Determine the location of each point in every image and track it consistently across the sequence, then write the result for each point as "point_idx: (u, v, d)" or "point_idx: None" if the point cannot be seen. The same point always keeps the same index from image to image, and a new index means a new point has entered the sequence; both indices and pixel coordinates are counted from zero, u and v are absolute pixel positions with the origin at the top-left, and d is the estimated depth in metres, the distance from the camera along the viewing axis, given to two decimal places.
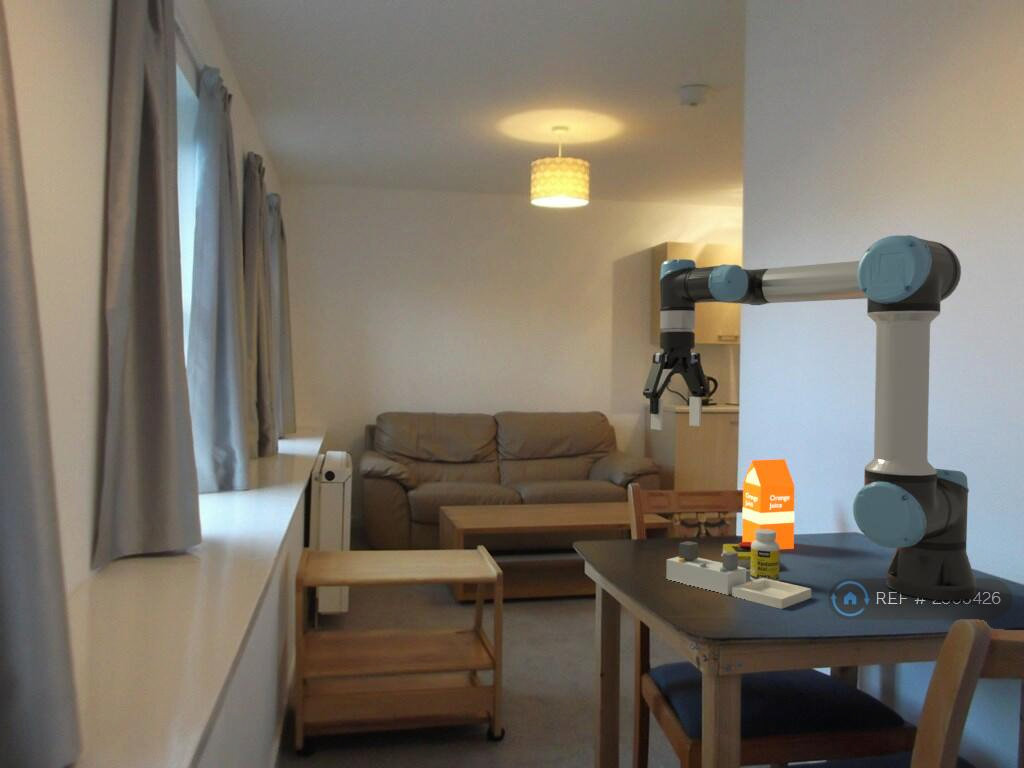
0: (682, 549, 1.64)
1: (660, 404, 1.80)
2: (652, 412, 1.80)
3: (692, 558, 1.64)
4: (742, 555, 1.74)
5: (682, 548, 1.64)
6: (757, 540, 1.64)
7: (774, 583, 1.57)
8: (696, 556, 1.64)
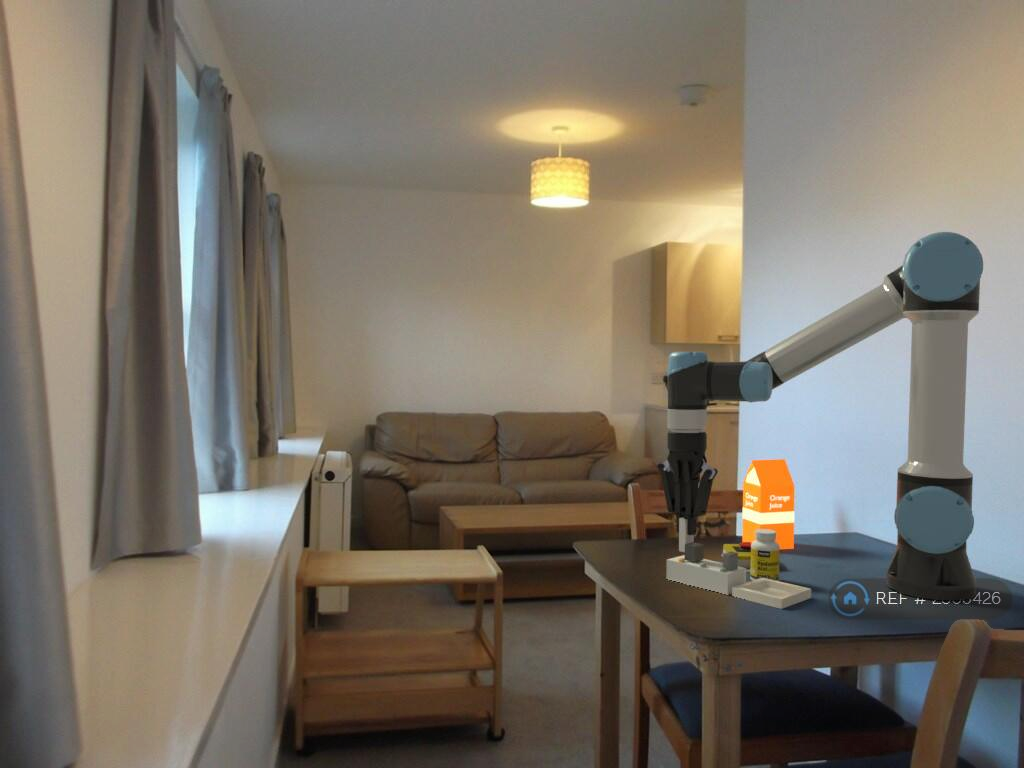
0: (687, 550, 1.63)
1: None
2: None
3: (698, 559, 1.63)
4: (742, 555, 1.74)
5: (687, 549, 1.63)
6: (757, 540, 1.64)
7: (774, 583, 1.57)
8: (702, 557, 1.63)
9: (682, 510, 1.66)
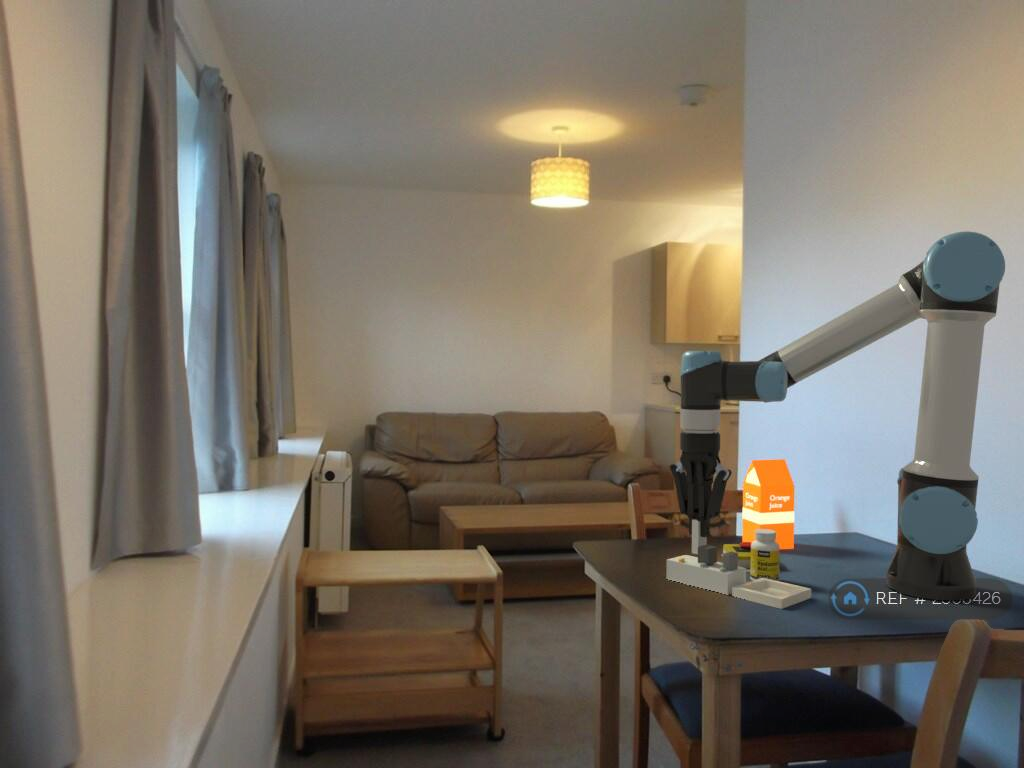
0: (700, 553, 1.61)
1: None
2: None
3: (711, 562, 1.60)
4: (742, 555, 1.74)
5: (700, 552, 1.61)
6: (757, 540, 1.64)
7: (774, 583, 1.57)
8: (715, 560, 1.61)
9: (695, 512, 1.64)
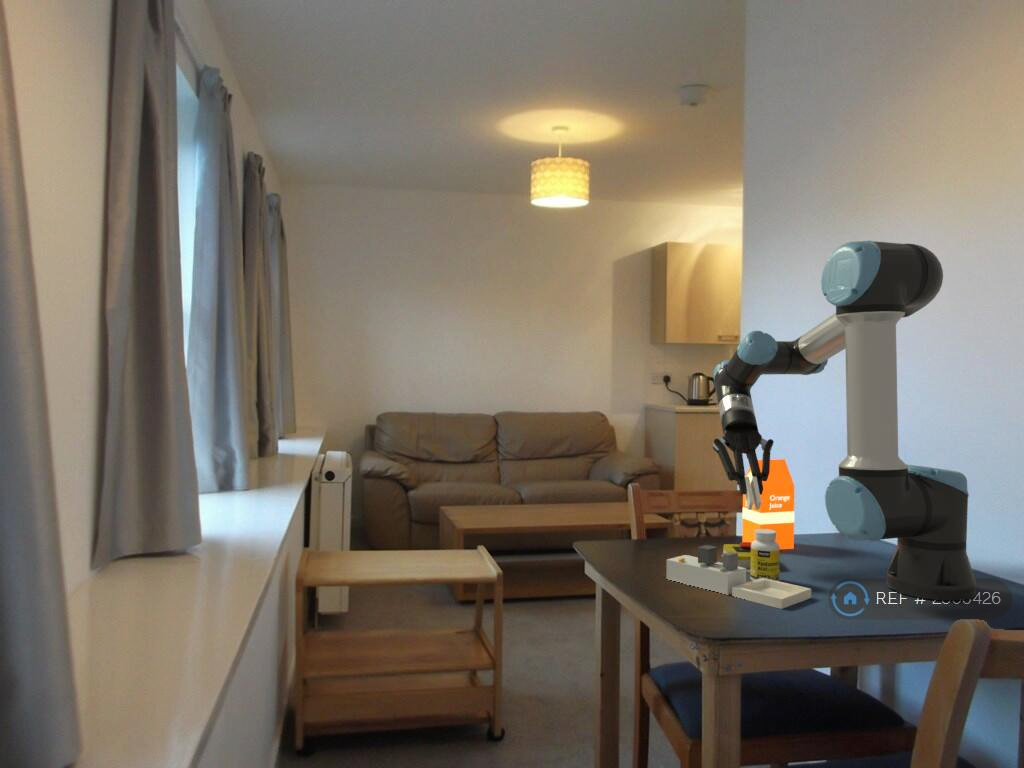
0: (700, 553, 1.61)
1: None
2: (762, 491, 1.75)
3: (711, 562, 1.60)
4: (743, 555, 1.74)
5: (700, 552, 1.61)
6: (757, 540, 1.64)
7: (774, 583, 1.57)
8: (715, 560, 1.61)
9: None
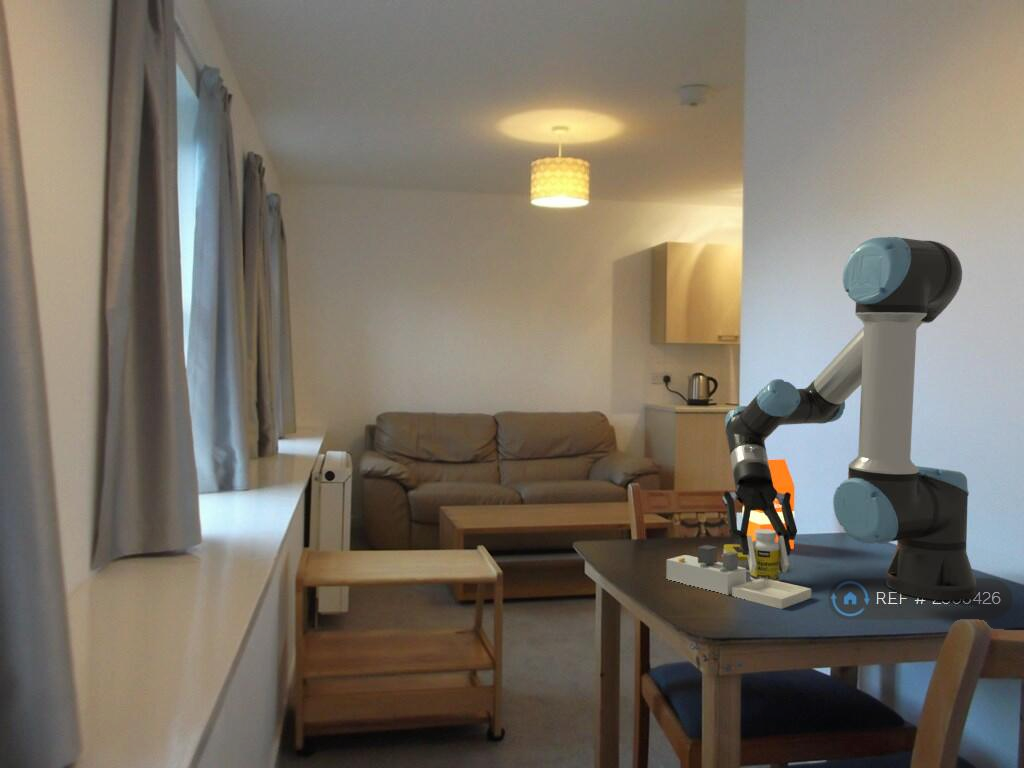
0: (700, 553, 1.61)
1: None
2: None
3: (711, 562, 1.60)
4: (743, 556, 1.74)
5: (700, 552, 1.61)
6: (757, 540, 1.64)
7: (774, 583, 1.57)
8: (715, 560, 1.61)
9: None
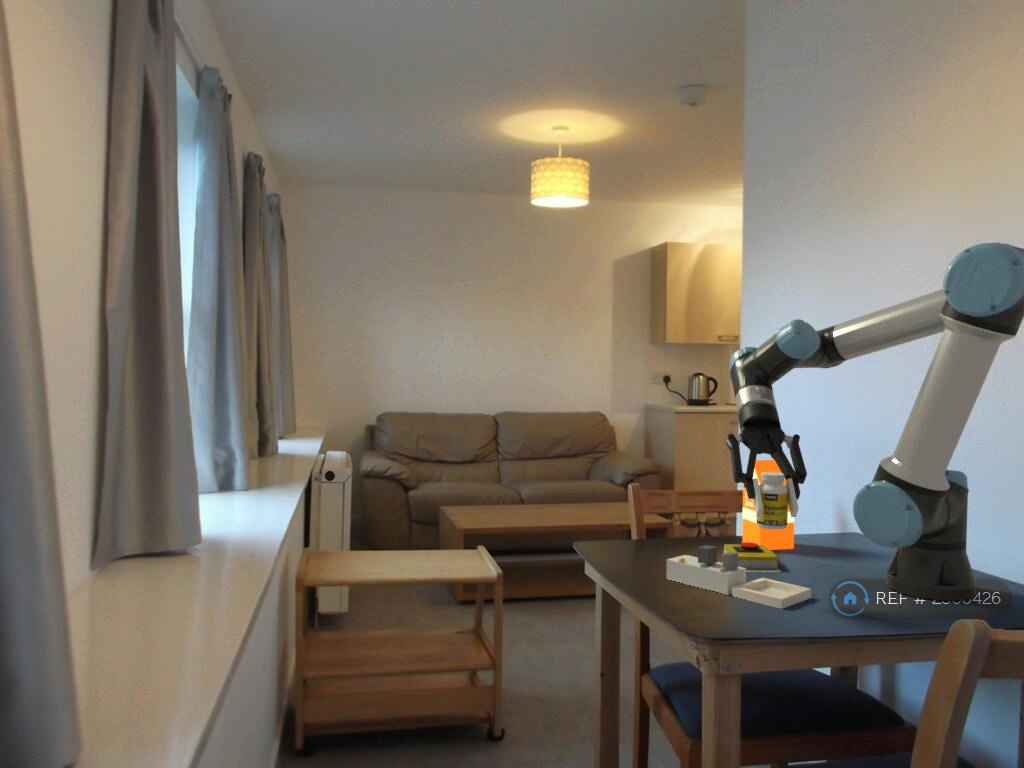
0: (700, 553, 1.61)
1: None
2: (799, 495, 1.52)
3: (711, 562, 1.60)
4: (743, 556, 1.74)
5: (700, 552, 1.61)
6: (764, 483, 1.52)
7: (774, 583, 1.57)
8: (715, 560, 1.61)
9: None
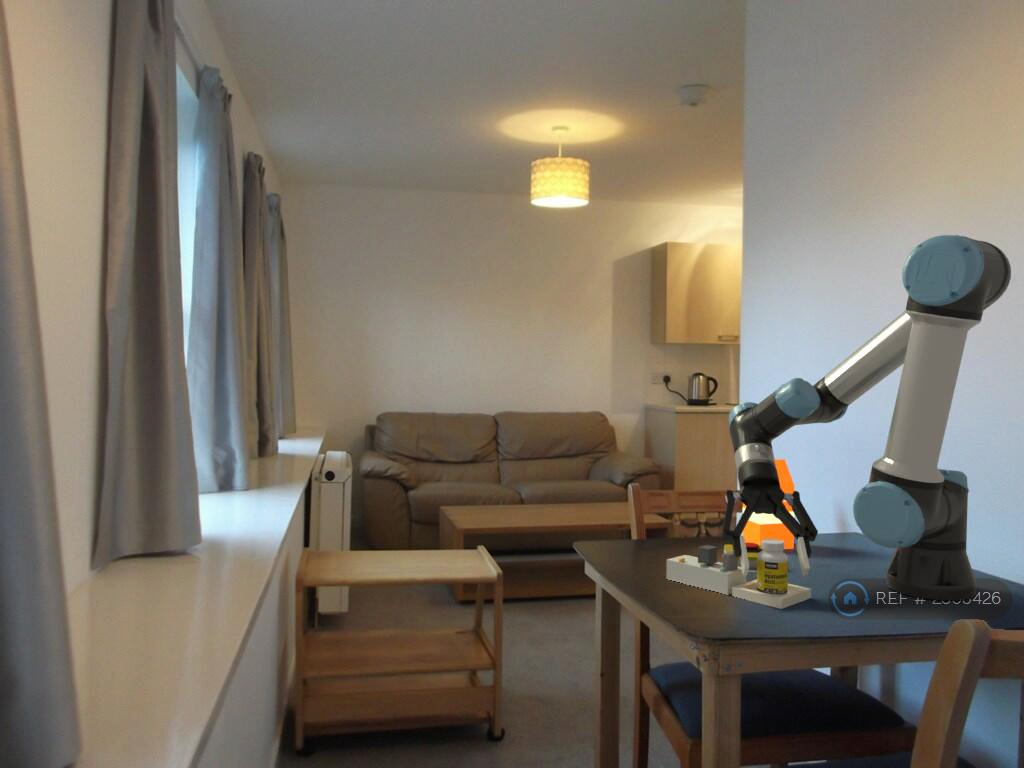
0: (700, 553, 1.61)
1: None
2: (810, 554, 1.52)
3: (711, 562, 1.60)
4: None
5: (700, 552, 1.61)
6: (764, 551, 1.53)
7: None
8: (715, 560, 1.61)
9: (801, 535, 1.55)
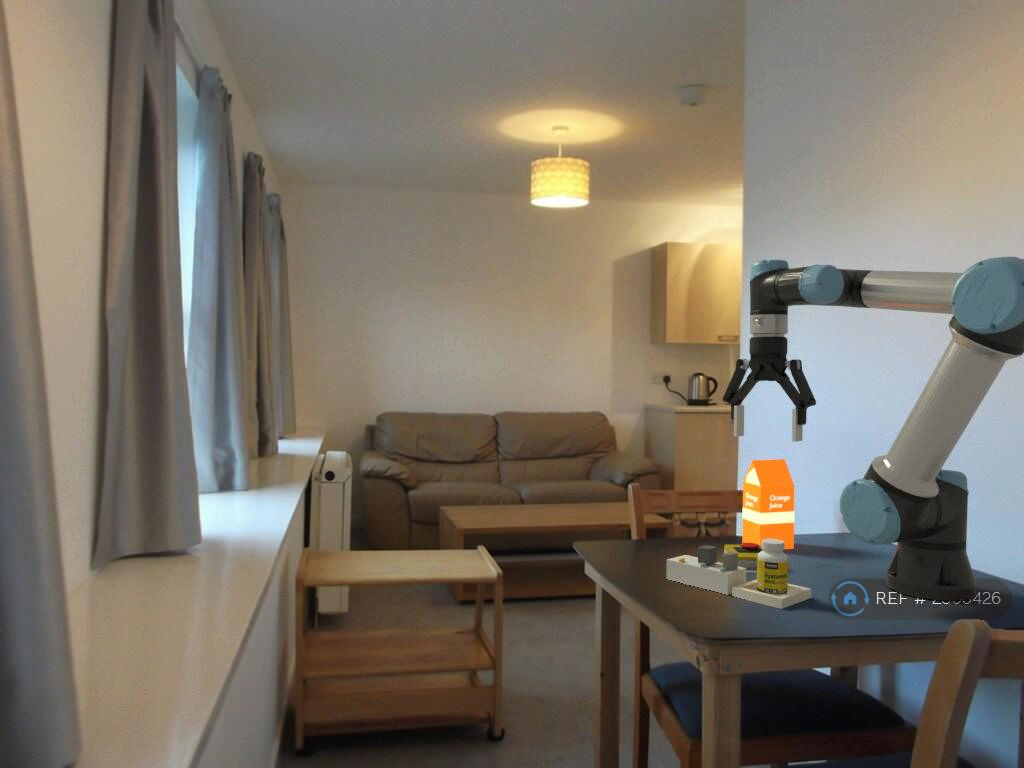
0: (700, 553, 1.61)
1: None
2: (803, 423, 1.68)
3: (711, 562, 1.60)
4: (744, 556, 1.73)
5: (700, 552, 1.61)
6: (764, 551, 1.53)
7: None
8: (715, 560, 1.61)
9: None
